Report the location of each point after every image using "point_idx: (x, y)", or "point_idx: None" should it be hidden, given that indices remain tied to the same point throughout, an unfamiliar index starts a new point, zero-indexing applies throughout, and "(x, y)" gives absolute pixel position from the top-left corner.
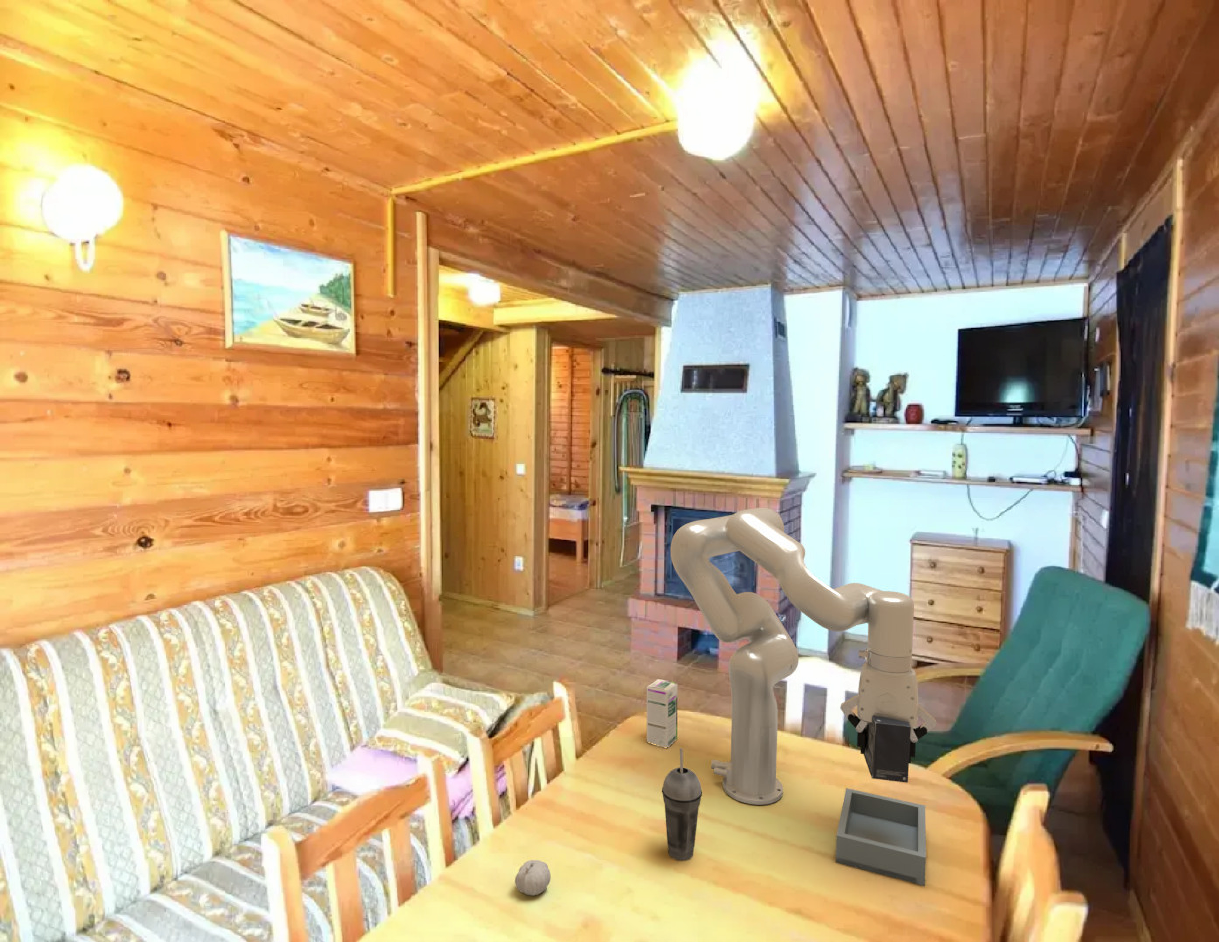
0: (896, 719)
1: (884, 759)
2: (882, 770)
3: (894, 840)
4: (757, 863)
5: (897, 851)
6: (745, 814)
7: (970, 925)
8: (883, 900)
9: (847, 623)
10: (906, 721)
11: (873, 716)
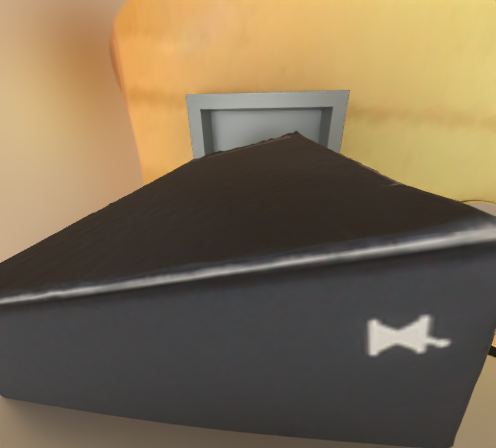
0: (126, 419)
1: (262, 148)
2: (268, 142)
3: None
4: (487, 11)
5: (234, 93)
6: (480, 170)
7: (130, 22)
8: (256, 17)
9: None
10: (13, 405)
11: (448, 428)
